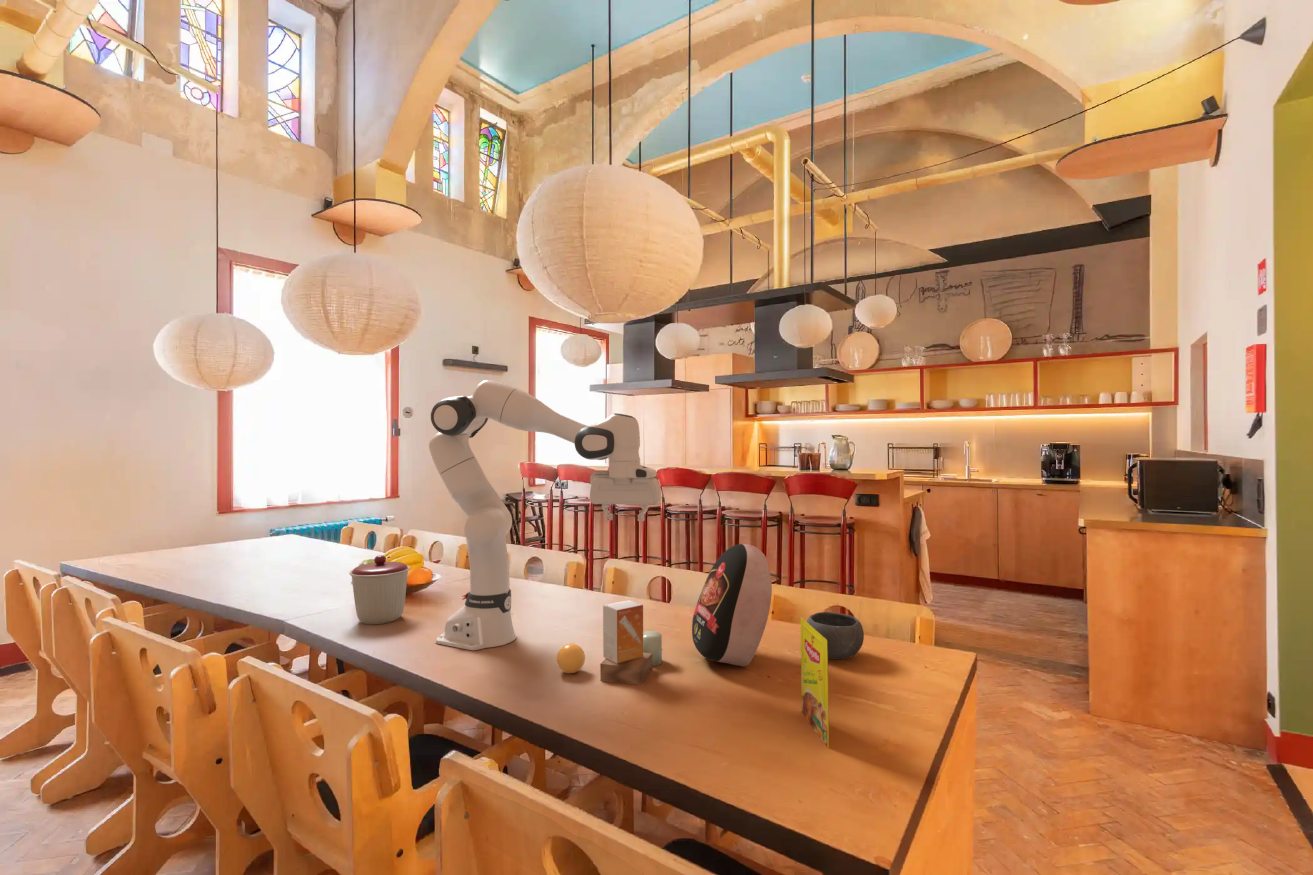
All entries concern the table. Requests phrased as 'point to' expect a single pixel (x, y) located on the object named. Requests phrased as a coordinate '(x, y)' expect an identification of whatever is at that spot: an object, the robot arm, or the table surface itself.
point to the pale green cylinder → (653, 646)
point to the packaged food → (733, 606)
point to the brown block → (627, 670)
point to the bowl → (838, 633)
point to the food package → (815, 680)
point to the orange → (570, 658)
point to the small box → (622, 631)
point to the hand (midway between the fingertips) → (625, 520)
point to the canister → (379, 590)
